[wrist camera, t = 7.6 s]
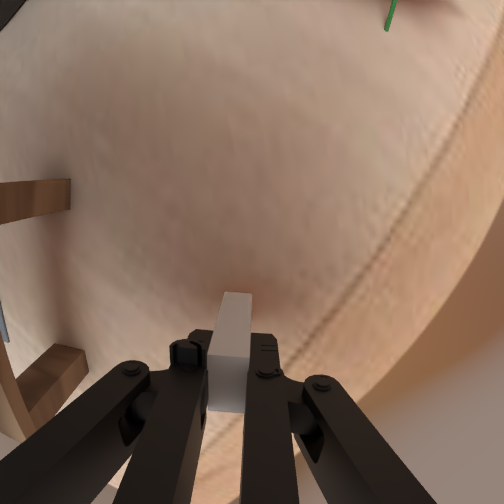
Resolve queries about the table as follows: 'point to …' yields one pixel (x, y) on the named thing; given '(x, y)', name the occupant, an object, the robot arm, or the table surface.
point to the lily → (390, 15)
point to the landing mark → (3, 327)
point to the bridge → (57, 356)
